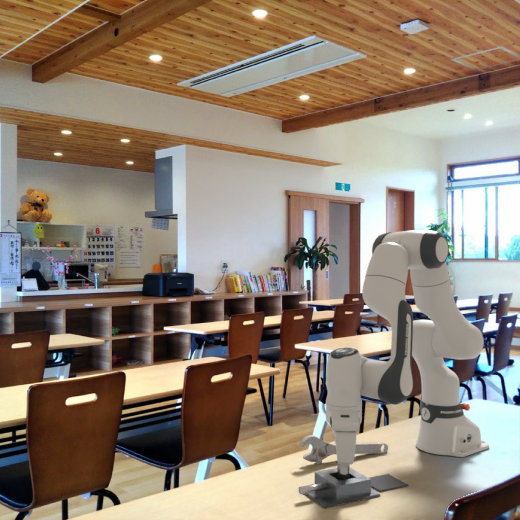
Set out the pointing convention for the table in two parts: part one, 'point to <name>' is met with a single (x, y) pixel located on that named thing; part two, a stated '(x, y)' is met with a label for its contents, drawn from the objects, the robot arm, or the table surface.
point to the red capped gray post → (342, 476)
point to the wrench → (326, 449)
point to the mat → (386, 482)
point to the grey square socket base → (338, 488)
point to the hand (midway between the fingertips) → (343, 469)
